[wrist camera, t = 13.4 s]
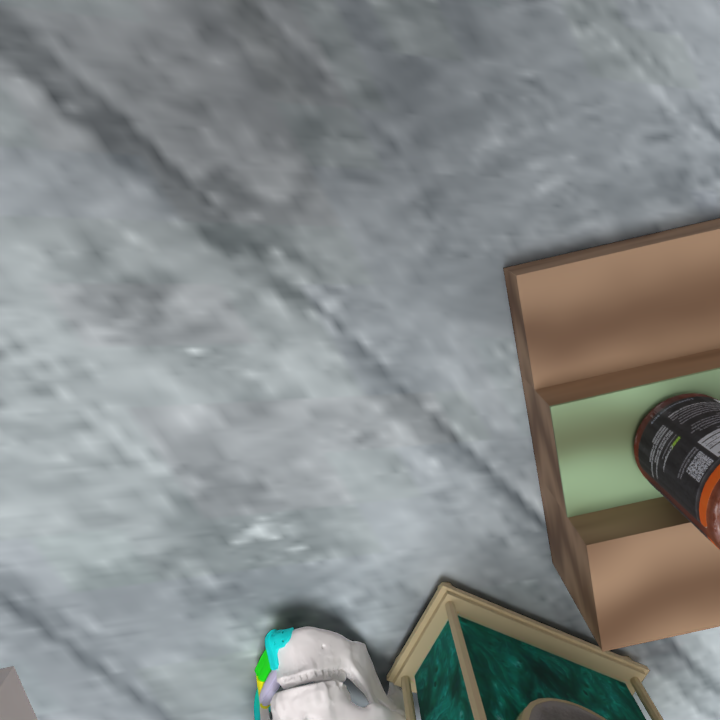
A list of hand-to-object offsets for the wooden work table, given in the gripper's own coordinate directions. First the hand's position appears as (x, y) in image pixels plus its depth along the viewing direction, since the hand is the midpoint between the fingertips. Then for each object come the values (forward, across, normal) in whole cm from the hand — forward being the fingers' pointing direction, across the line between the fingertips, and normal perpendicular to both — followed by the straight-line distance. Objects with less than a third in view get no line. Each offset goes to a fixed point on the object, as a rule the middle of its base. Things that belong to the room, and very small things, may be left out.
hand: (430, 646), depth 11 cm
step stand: (+32, +18, -11) cm, 38 cm away
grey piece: (+32, -9, -26) cm, 42 cm away
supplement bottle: (+26, +16, -11) cm, 32 cm away
